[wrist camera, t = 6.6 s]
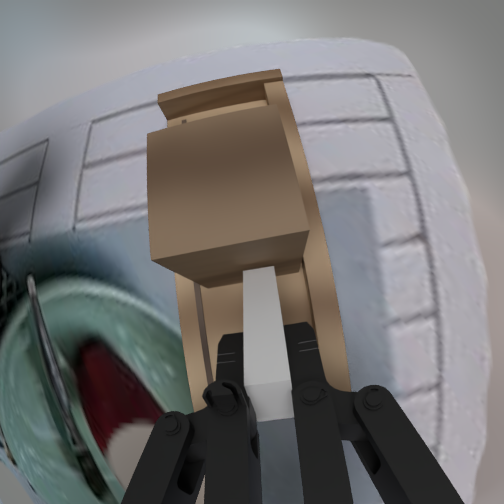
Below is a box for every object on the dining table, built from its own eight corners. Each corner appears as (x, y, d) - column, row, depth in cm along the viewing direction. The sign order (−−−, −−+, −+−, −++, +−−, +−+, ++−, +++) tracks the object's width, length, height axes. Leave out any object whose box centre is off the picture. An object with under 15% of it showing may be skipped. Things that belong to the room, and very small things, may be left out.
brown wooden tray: (341, 389, 19) (354, 403, 15) (200, 408, 19) (182, 424, 16) (281, 100, 25) (279, 68, 21) (172, 122, 25) (158, 94, 21)
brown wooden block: (298, 272, 19) (309, 229, 11) (185, 292, 20) (115, 267, 11) (280, 188, 21) (276, 103, 12) (176, 209, 21) (117, 143, 13)
